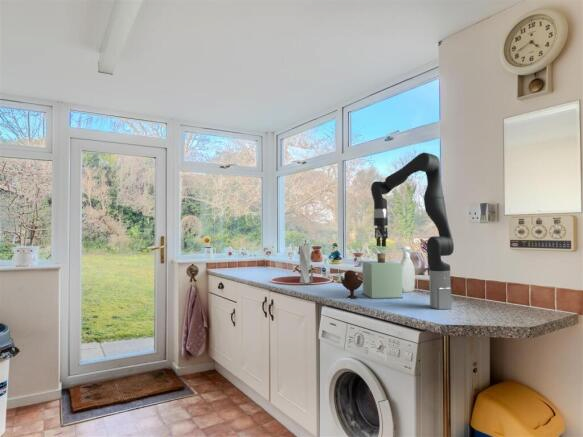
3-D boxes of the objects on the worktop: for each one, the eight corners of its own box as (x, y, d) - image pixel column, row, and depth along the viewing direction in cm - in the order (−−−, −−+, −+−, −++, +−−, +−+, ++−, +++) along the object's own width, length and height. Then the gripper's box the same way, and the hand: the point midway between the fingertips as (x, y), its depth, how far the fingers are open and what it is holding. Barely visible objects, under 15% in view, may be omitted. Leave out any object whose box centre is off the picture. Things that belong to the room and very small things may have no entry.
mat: (403, 298, 205) (403, 297, 205) (371, 299, 203) (371, 298, 203) (391, 293, 222) (391, 292, 222) (362, 293, 220) (362, 293, 220)
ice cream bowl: (362, 300, 200) (361, 271, 201) (340, 299, 203) (340, 271, 203) (362, 296, 211) (362, 269, 211) (342, 296, 213) (341, 269, 213)
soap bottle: (407, 289, 234) (406, 245, 235) (418, 291, 228) (418, 245, 229) (392, 292, 225) (392, 246, 226) (405, 293, 219) (404, 246, 220)
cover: (402, 297, 205) (401, 254, 206) (372, 298, 203) (371, 254, 204) (390, 292, 222) (390, 252, 223) (362, 293, 220) (362, 252, 221)
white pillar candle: (306, 284, 263) (306, 243, 264) (297, 283, 268) (296, 243, 269) (313, 282, 269) (313, 242, 270) (304, 282, 274) (303, 242, 275)
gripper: (391, 216, 207) (392, 246, 207) (382, 217, 221) (383, 245, 221) (378, 216, 207) (378, 247, 206) (370, 217, 221) (370, 245, 220)
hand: (381, 246), depth 213 cm, fingers open, 8 cm apart
